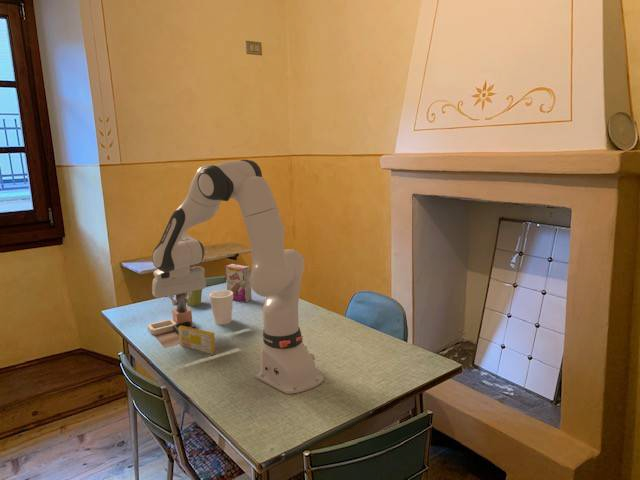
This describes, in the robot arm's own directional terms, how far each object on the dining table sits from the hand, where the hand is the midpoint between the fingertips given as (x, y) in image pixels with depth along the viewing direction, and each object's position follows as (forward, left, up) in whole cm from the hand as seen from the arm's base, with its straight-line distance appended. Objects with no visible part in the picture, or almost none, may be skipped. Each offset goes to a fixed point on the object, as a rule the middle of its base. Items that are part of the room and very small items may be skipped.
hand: (181, 303), depth 183 cm
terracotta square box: (+7, -2, -12) cm, 14 cm away
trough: (+7, +6, -12) cm, 15 cm away
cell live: (0, 0, -3) cm, 3 cm away
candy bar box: (+22, -34, -12) cm, 42 cm away
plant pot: (+28, -14, -12) cm, 34 cm away
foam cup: (-1, -16, -12) cm, 20 cm away
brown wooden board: (0, +3, -12) cm, 13 cm away
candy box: (-19, +1, -13) cm, 22 cm away
